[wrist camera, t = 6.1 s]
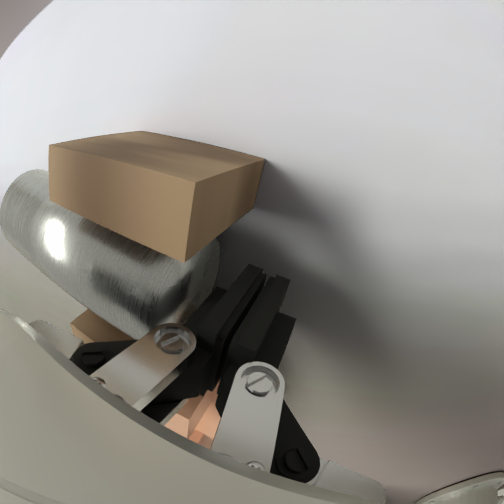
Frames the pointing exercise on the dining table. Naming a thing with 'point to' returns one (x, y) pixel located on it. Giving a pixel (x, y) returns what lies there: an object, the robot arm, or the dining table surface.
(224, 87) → the dining table surface
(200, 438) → the cradle
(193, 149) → the channel block
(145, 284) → the axle
